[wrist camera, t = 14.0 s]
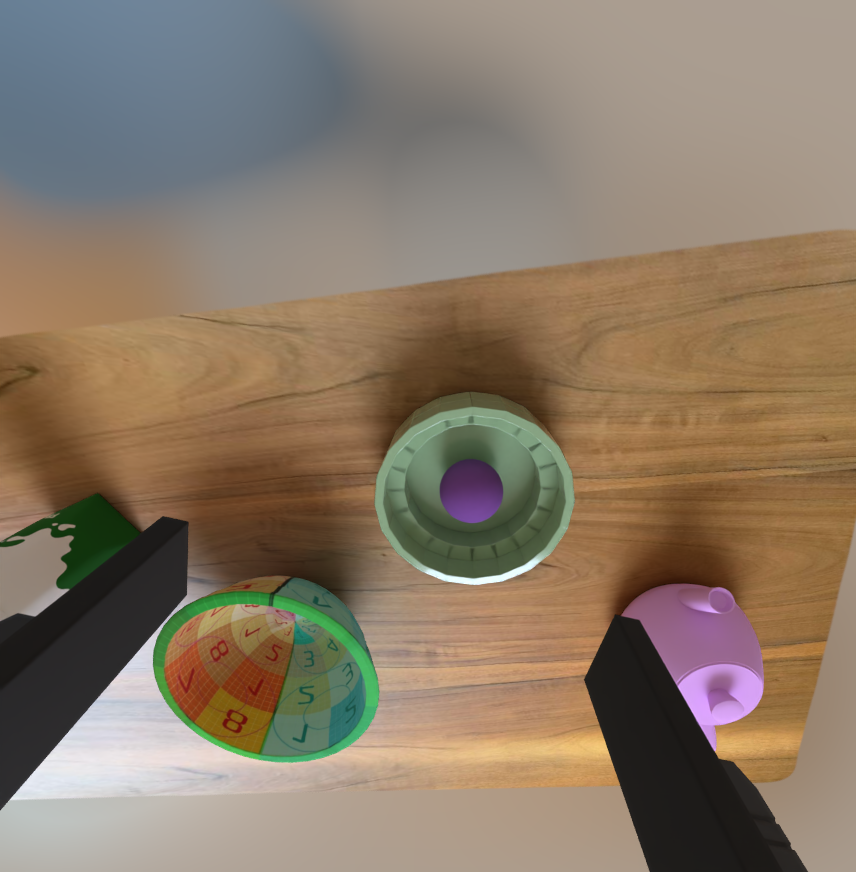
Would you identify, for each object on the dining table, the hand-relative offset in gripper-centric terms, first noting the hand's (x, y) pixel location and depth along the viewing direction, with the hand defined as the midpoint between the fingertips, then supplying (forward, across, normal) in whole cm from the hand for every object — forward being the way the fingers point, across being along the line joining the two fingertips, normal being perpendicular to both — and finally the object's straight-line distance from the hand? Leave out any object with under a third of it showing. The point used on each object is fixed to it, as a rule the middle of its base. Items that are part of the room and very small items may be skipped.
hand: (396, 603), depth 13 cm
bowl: (+29, -10, -30) cm, 43 cm away
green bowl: (+29, +6, -8) cm, 30 cm away
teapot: (+29, +32, -20) cm, 48 cm away
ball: (+28, +6, -8) cm, 30 cm away
